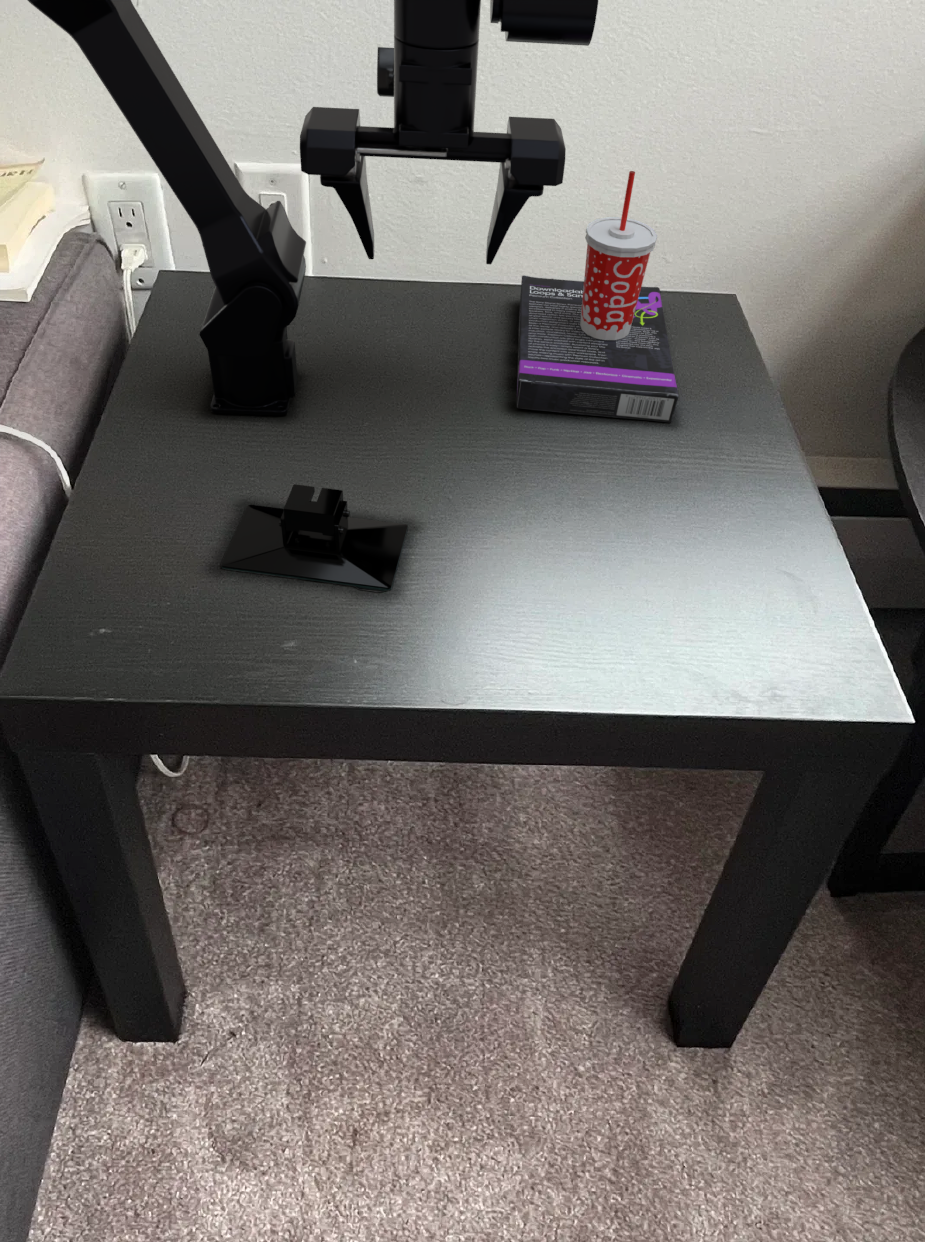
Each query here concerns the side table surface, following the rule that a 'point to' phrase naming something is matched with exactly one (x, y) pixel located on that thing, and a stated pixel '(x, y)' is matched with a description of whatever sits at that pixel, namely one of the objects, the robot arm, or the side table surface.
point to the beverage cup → (614, 272)
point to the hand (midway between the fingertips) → (430, 259)
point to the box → (592, 357)
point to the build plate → (317, 542)
